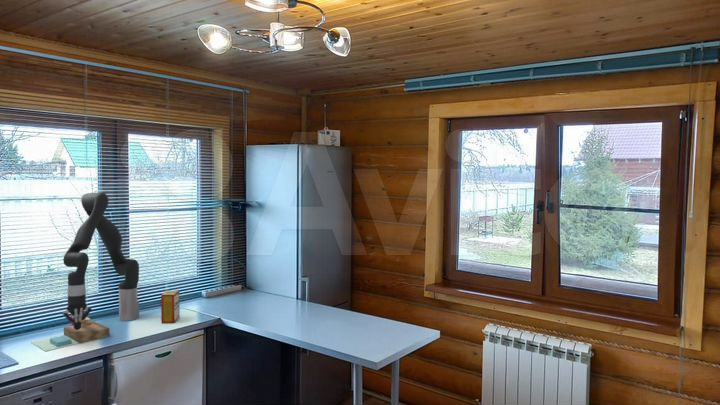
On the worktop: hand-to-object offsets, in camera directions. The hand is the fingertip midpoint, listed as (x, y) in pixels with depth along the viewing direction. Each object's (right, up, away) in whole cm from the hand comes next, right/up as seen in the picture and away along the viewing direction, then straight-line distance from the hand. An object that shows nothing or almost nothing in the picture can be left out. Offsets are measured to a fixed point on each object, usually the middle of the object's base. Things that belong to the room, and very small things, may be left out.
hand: (77, 329), depth 235 cm
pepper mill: (-11, -4, +20) cm, 23 cm away
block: (-3, -1, +11) cm, 11 cm away
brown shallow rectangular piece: (+1, -5, +7) cm, 8 cm away
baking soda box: (+32, -4, +33) cm, 46 cm away
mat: (-8, -5, -4) cm, 10 cm away
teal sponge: (-5, -3, -5) cm, 8 cm away
